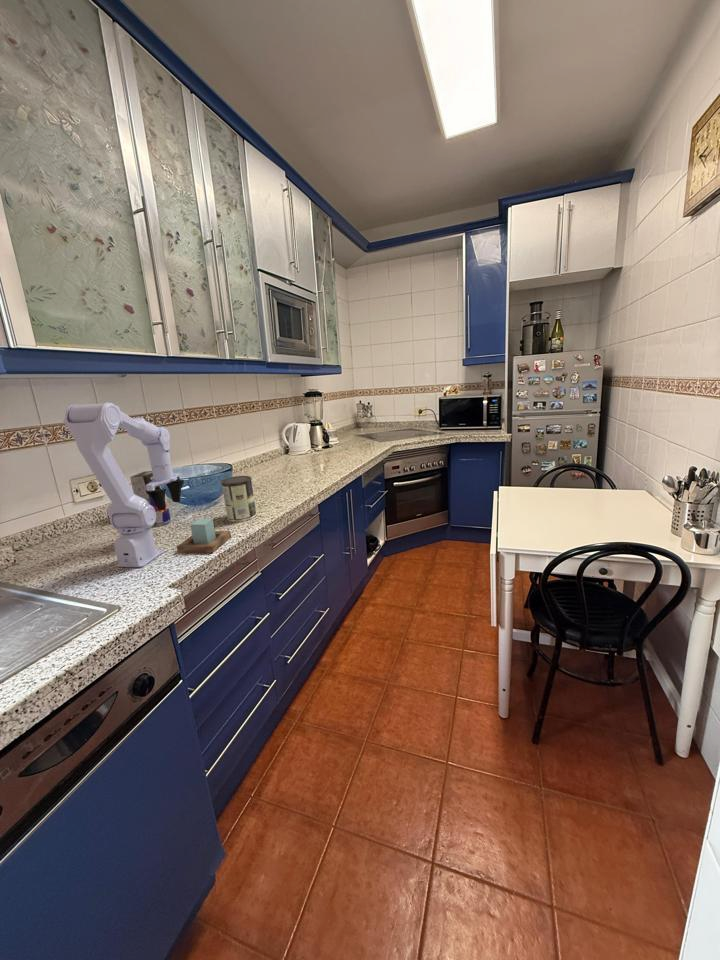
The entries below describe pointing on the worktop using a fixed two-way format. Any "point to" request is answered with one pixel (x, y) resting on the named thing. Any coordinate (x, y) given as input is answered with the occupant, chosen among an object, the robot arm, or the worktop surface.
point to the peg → (203, 531)
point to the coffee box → (141, 484)
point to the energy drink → (161, 513)
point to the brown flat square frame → (193, 547)
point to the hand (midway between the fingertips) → (169, 505)
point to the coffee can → (239, 498)
